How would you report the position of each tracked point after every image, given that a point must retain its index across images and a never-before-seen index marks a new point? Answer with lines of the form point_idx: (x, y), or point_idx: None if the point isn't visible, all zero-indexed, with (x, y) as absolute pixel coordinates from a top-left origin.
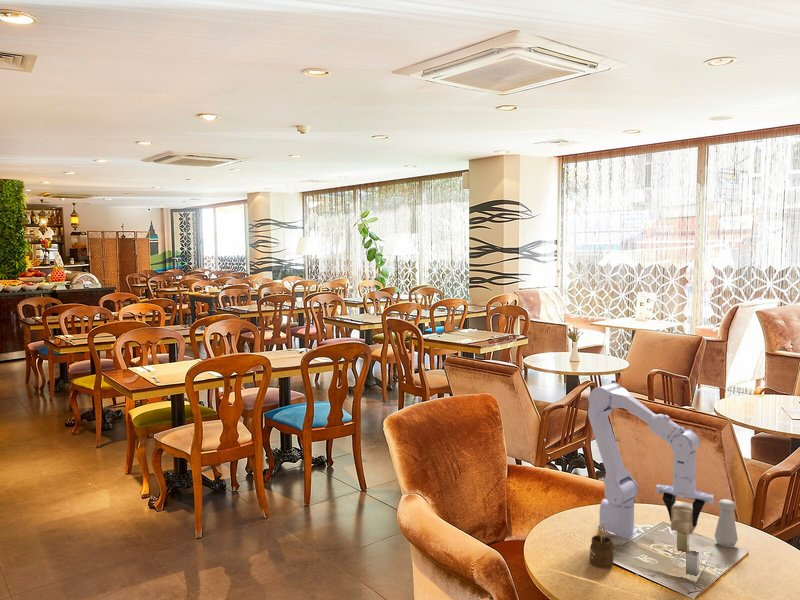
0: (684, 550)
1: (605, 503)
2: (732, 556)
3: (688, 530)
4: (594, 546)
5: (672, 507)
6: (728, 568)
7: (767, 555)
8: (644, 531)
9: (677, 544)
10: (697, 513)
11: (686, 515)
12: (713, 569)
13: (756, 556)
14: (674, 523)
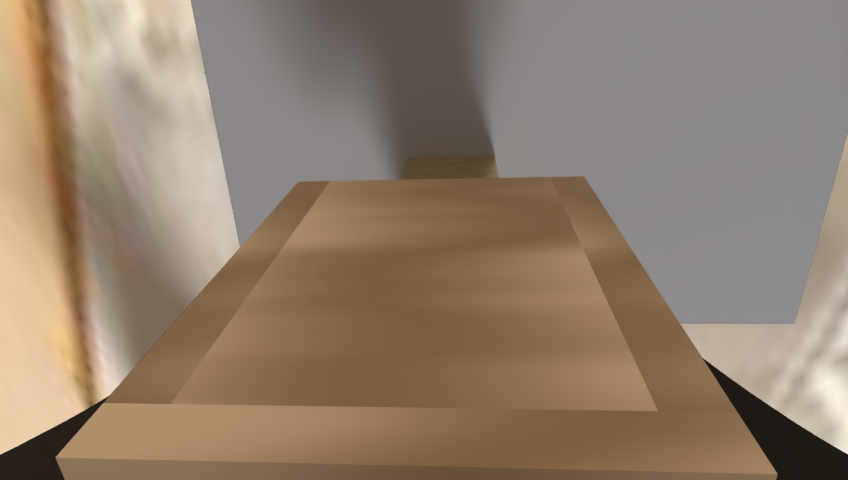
0: (424, 163)
1: None
2: (138, 325)
3: (324, 196)
4: None
5: (725, 449)
6: (63, 109)
7: (2, 444)
8: (808, 385)
9: (491, 175)
10: (7, 458)
11: (290, 338)
12: (135, 6)
13: (36, 402)
14: (552, 220)
